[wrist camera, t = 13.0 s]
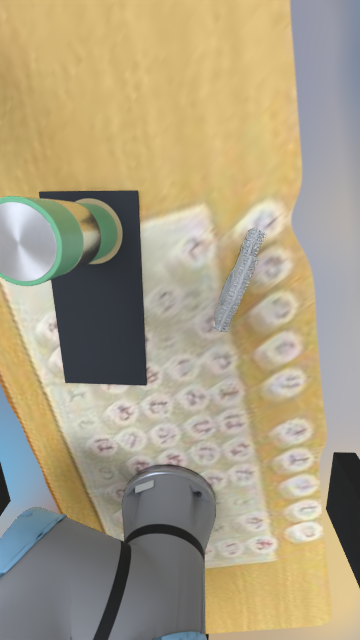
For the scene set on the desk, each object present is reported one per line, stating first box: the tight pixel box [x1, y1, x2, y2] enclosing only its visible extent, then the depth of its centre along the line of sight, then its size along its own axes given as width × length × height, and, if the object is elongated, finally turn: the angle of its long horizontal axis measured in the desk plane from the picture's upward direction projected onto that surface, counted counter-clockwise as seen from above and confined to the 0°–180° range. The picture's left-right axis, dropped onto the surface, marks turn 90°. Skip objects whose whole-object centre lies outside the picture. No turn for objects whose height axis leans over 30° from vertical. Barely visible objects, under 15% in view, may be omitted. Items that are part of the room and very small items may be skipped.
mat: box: [39, 191, 147, 385], centre depth 41 cm, size 26×12×1 cm, turn 0°
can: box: [0, 196, 117, 286], centre depth 31 cm, size 16×7×7 cm
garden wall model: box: [214, 228, 266, 332], centre depth 36 cm, size 12×2×6 cm, turn 160°
